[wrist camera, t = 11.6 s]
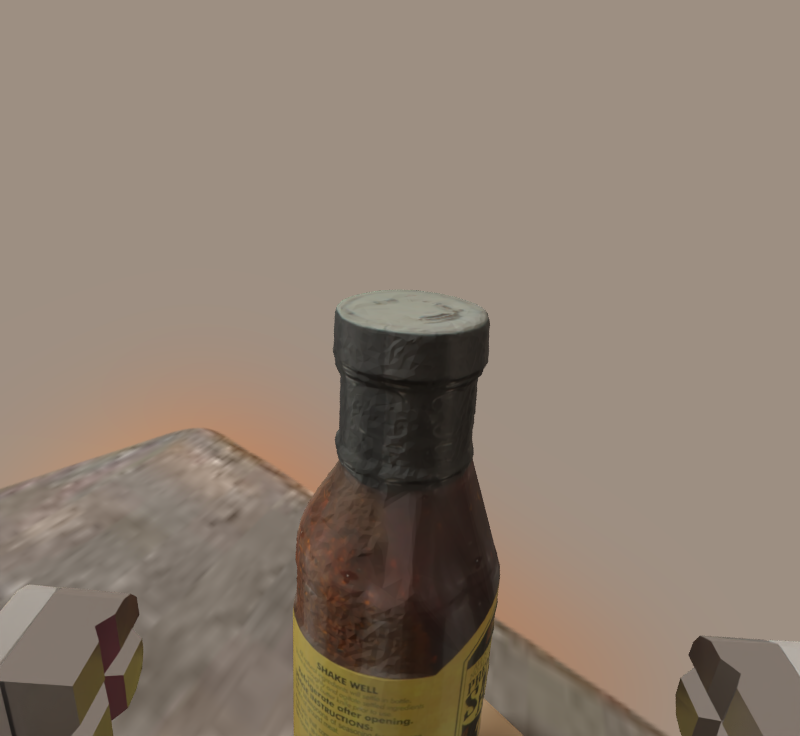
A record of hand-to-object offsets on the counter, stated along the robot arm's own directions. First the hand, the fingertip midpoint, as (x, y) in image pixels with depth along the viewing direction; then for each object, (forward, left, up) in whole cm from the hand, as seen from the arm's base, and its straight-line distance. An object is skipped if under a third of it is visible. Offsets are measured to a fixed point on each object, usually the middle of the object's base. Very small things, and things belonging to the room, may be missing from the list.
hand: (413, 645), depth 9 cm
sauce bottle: (-6, +5, -18) cm, 19 cm away
